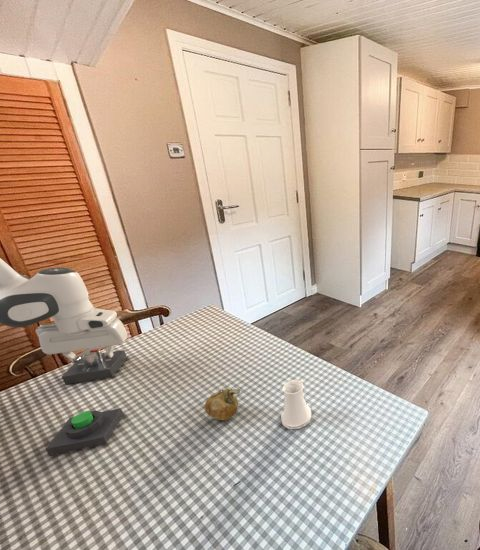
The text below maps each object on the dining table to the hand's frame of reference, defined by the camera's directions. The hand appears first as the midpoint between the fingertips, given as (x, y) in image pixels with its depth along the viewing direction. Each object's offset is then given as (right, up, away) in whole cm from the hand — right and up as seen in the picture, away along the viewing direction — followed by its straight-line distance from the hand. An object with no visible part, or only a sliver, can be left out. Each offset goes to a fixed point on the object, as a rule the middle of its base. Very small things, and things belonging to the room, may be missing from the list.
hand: (93, 359), depth 93 cm
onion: (+48, -11, -15) cm, 51 cm away
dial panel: (0, -4, +2) cm, 4 cm away
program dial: (0, -1, 0) cm, 1 cm away
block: (+17, -13, -20) cm, 29 cm away
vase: (+67, -11, -16) cm, 69 cm away
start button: (+17, -9, -21) cm, 29 cm away
